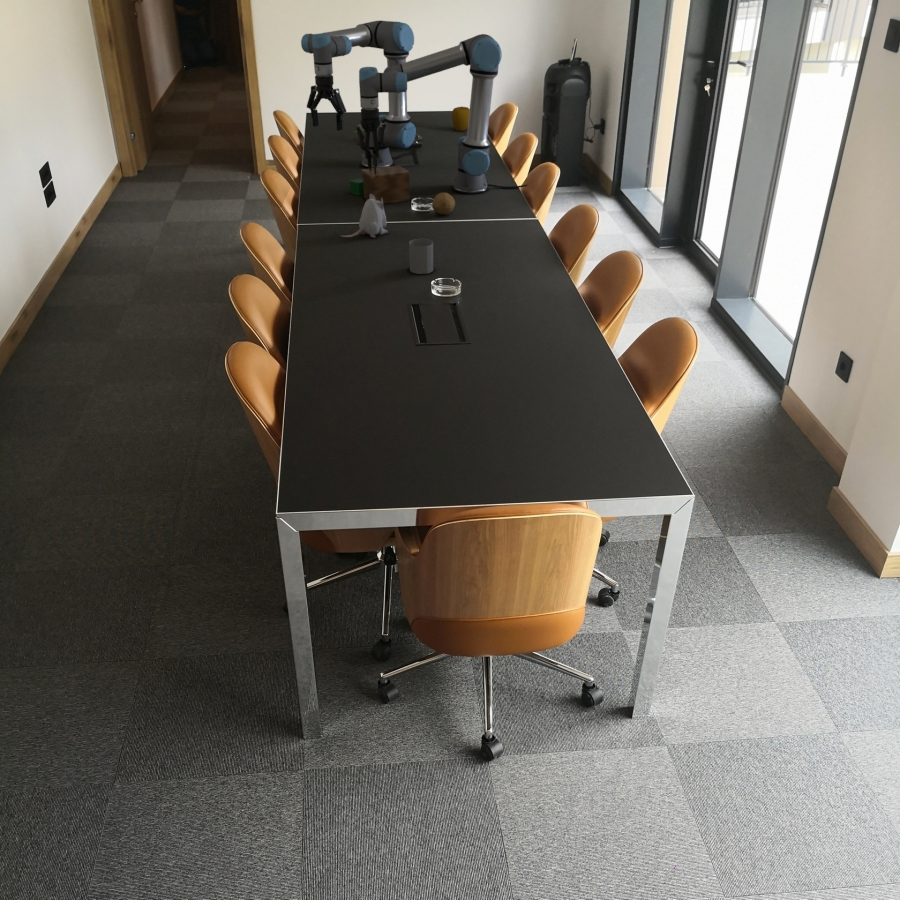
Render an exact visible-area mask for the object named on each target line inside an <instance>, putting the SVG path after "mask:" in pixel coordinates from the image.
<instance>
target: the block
mask: <svg viewBox="0 0 900 900" xmlns="http://www.w3.org/2000/svg"><path fill="white" fill-rule="evenodd" d="M349 188H350V190H349V191H350V195H351V194H353V195H355V196H364V185H363V178H356V179H351V180H349Z"/></svg>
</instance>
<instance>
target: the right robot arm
mask: <svg viewBox="0 0 900 900" xmlns="http://www.w3.org/2000/svg"><path fill="white" fill-rule="evenodd" d="M502 56H503V55H502V48H501V46H500V44H499V42H498V41H496V40H495V39H494V38H493V37H492V36H491V35H490V34H486V33H481V34H477V35H475V36H472V37H469V38H467V39H465V40H462V41H459V43H458V45H454V46H452V47H449V48H445V49H442V50H439V51H436V52H433V53H430V54H427V55H424V56H421V57H417V58H415V59H411V60H408V61H406V62H405V63H402V64H399V65H396V66H388V67H387V66H386V67H385V68H384V70H383V72H379V71H378V68H377V67H376V66H363V67H361V68H359V70H358V84H359V85H358V86H359V99H360V100H359V103H360V123H359V124H358V125H355V126H354V128H355V131H357V132H356V133H357V139H358V141H359V143H360V144H359V143H358V144H359V148H360V149H361V150H362V151H363V152H364V151H365V158H366V159H367V160H368V166H369V167H372V165H371V151H369V139H370V132H371V131H372V135H373V142H374V149H375V150H374V149H373V154H375V155H376V156H377V158H378V157H379V149H381V148H383V139H384V130H385V127H386V124H384V123H381V122H380V120H379V115H380V109H379V106H380V105H379V103H380V102H379V101H380V100H379V93H381V94H382V93H388V92H398V93H400V92H406V91H407V92H408V83H410V82H413V81H415V80H418V79H422V78H424V77H427V76H431V75H434V74H437V73H440V72H443V71H447V70H450V69H453V68H456V67H460V66H463V65H464V66H466V67H468V66H469V74H470V75H471V76H472V81H471V90H470V101H469V109H470V111H469V121H468V128H467V133H466V136H460V137H459V138H458V140H457V174H456V176H455V178H454V182H453V191H455V192H457V193H460V194H467V195H475V194H482V193H485V192H487V191H488V187H493V188H497V189H498V188H499V189H519V188H525V187H528V184H527V183H526V184H522V185H514V186H513V185H512V186H510V185H509V186H506V185H505V186H503V185H497V184H492V183H491V184H490V183H488V182H487V178H486V175H485V173H487V171H488V170H489V168H490V163H491V161H490V150H491V149H490V147H491V142H490V141H489V139H488V134H489V133H488V132H489V123H490V114H491V107H492V106H491V104H492V96H493V87H494V79H495V78H496V77H497V76H499V67H500V64H501V61H502ZM379 125H380V126H379ZM378 127H380V130H379V141H378V138H377V128H378ZM362 129H364V130H365V144H364V139H363V135H362V134H363V131H361V130H362ZM373 165H374V159H373ZM376 167H377V159H376Z"/></svg>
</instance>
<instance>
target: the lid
mask: <svg viewBox="0 0 900 900" xmlns="http://www.w3.org/2000/svg"><path fill="white" fill-rule="evenodd" d="M371 158H373V159H374V168H371V167H369V168H363V169H361V173H362V174H363V173H364V174H365V175H366V176H368V177H369V178H370V179H375V178H383V177H392V176H400V175H408V174H409V175H410V171H408V170H407V169H405V168H404V167H403V166H401V165H399V164H397V165H392V166H387V167H379V168H376V159H377V156H376V155H375V154H373V153H372V152H371Z"/></svg>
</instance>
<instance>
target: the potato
mask: <svg viewBox="0 0 900 900" xmlns="http://www.w3.org/2000/svg"><path fill="white" fill-rule="evenodd" d="M455 206H456V200H455V198H454V196H452V195H451V194H449V193H448V192H439V193H437V194H436V195H435V197H434V198H433V200H432V201H431V207H432V209H433V210H434V212H436V213H437V214H439V215H441V216H442V215H449V214H450V213H452V212H453V211H454V209H455Z"/></svg>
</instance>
